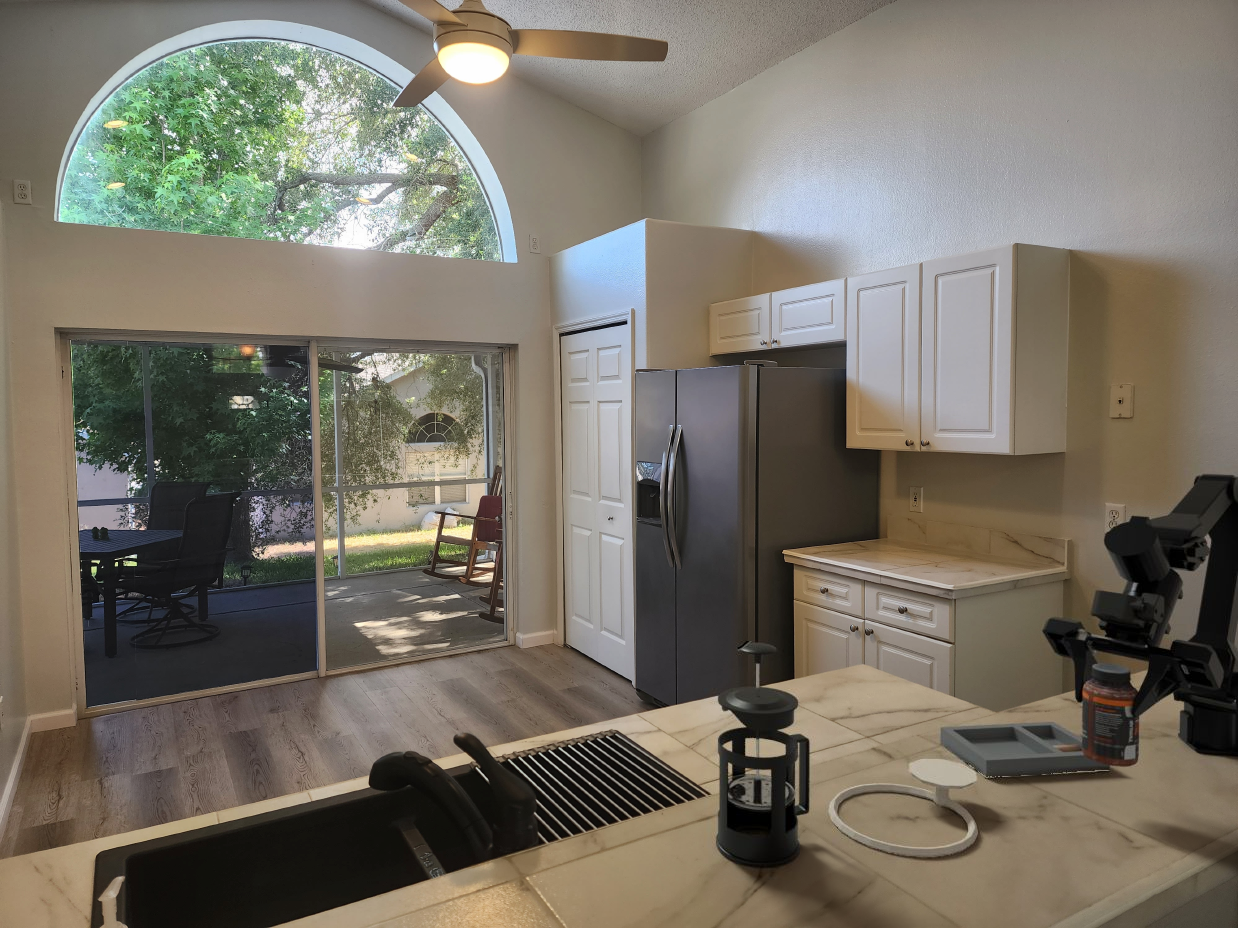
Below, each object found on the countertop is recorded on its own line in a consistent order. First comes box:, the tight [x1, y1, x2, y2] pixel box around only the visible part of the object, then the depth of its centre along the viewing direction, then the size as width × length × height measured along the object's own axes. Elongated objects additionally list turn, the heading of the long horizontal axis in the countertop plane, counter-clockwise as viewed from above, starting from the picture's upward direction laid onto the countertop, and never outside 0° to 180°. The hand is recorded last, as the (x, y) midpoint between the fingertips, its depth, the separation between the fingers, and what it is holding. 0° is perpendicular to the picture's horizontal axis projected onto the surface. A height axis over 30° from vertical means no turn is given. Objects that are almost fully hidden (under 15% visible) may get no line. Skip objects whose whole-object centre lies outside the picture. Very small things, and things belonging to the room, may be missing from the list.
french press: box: [715, 642, 811, 869], centre depth 89 cm, size 12×9×23 cm
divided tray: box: [939, 721, 1111, 777], centre depth 113 cm, size 18×12×2 cm, turn 96°
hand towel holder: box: [828, 758, 979, 858], centre depth 96 cm, size 17×4×21 cm
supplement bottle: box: [1081, 663, 1140, 768], centre depth 96 cm, size 6×6×11 cm
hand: (1105, 707), depth 95 cm, fingers closed on supplement bottle, 6 cm apart
